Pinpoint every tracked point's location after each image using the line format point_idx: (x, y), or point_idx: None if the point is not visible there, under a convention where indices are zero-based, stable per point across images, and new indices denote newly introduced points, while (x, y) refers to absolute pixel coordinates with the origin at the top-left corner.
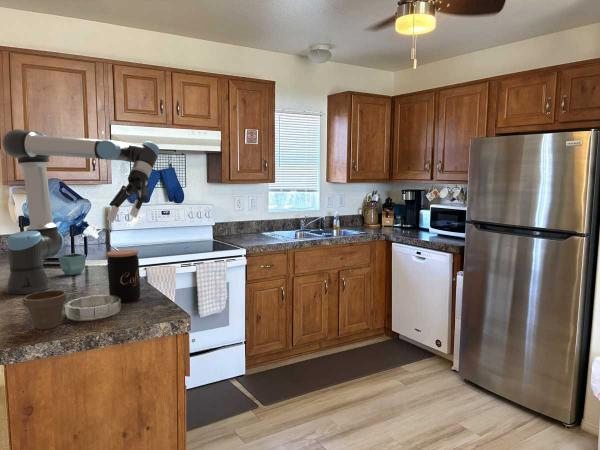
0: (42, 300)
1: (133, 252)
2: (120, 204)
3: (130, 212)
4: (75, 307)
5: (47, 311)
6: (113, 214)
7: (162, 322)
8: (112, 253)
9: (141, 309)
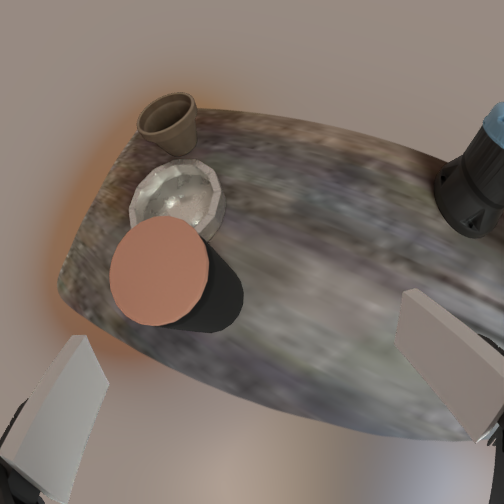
0: (145, 108)
1: (113, 284)
2: (496, 475)
3: (76, 343)
4: (166, 167)
5: (154, 125)
6: (436, 359)
7: (67, 259)
8: (157, 228)
9: None
